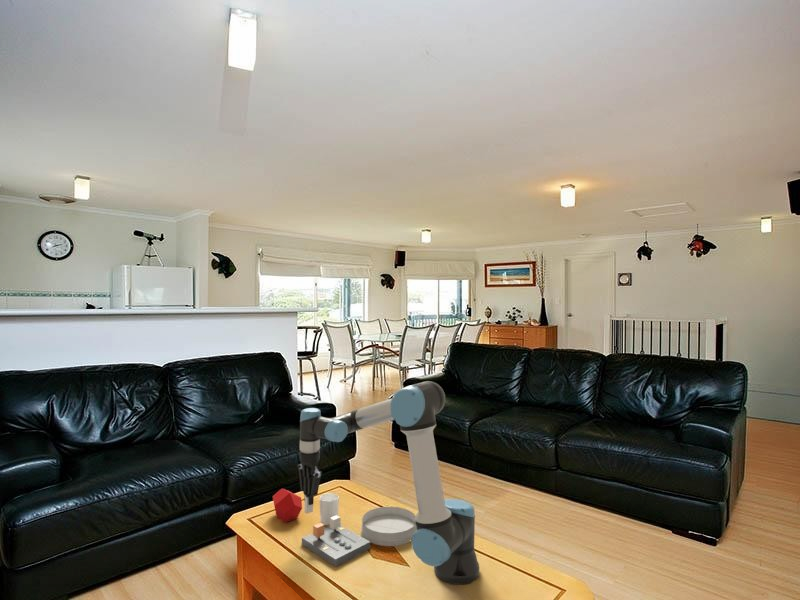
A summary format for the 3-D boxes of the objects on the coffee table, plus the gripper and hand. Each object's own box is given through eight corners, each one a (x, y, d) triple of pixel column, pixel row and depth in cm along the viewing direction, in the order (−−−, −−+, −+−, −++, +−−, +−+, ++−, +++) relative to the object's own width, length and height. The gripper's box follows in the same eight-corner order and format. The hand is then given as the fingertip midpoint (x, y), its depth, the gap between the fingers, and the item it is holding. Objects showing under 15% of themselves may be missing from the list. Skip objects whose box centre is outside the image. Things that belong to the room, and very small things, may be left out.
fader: (324, 537, 172) (324, 524, 171) (317, 541, 169) (317, 527, 169) (320, 535, 173) (320, 522, 173) (313, 538, 171) (313, 525, 171)
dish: (351, 540, 176) (352, 527, 175) (373, 514, 196) (373, 503, 196) (407, 551, 168) (407, 537, 168) (424, 523, 189) (424, 511, 189)
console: (370, 548, 170) (370, 540, 169) (335, 566, 158) (335, 557, 158) (335, 529, 183) (335, 521, 183) (301, 544, 172) (301, 536, 172)
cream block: (340, 529, 178) (340, 517, 178) (333, 532, 175) (333, 520, 175) (336, 527, 179) (336, 515, 179) (329, 530, 177) (329, 517, 177)
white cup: (340, 517, 193) (340, 493, 193) (336, 526, 185) (336, 501, 185) (322, 516, 194) (322, 492, 194) (316, 525, 186) (317, 500, 186)
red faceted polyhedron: (277, 531, 185) (262, 506, 196) (304, 523, 193) (288, 500, 204) (284, 506, 183) (268, 482, 193) (310, 499, 191) (294, 477, 201)
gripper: (328, 452, 173) (327, 514, 174) (308, 443, 182) (306, 503, 183) (311, 456, 168) (310, 521, 168) (291, 448, 177) (290, 509, 177)
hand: (308, 511), depth 175 cm, fingers closed
